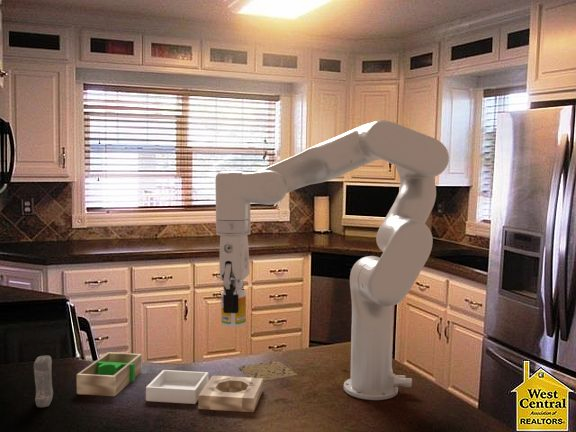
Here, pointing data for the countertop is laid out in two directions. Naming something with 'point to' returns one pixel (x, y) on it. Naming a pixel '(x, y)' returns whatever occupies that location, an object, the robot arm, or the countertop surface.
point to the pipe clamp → (114, 368)
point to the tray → (177, 386)
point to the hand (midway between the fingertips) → (234, 308)
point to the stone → (43, 381)
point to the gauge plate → (231, 393)
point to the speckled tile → (268, 370)
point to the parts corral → (107, 383)
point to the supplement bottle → (239, 317)
